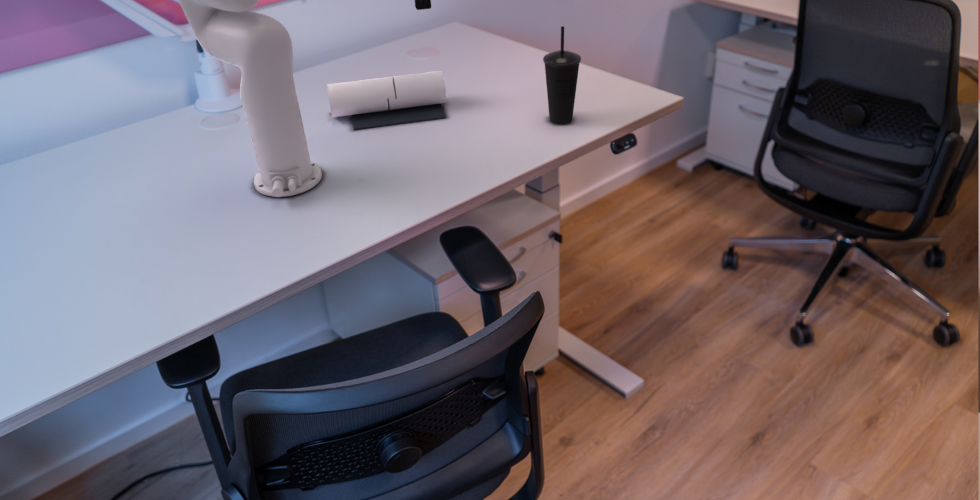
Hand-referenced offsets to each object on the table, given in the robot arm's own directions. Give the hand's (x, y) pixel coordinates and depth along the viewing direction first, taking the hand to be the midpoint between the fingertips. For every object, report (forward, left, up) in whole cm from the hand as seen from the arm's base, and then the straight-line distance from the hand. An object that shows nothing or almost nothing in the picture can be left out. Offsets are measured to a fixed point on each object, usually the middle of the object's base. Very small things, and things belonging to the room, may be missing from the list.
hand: (423, 8), depth 152 cm
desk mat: (0, +8, -21) cm, 23 cm away
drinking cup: (-17, -25, -22) cm, 37 cm away
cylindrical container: (-1, -3, -17) cm, 18 cm away
